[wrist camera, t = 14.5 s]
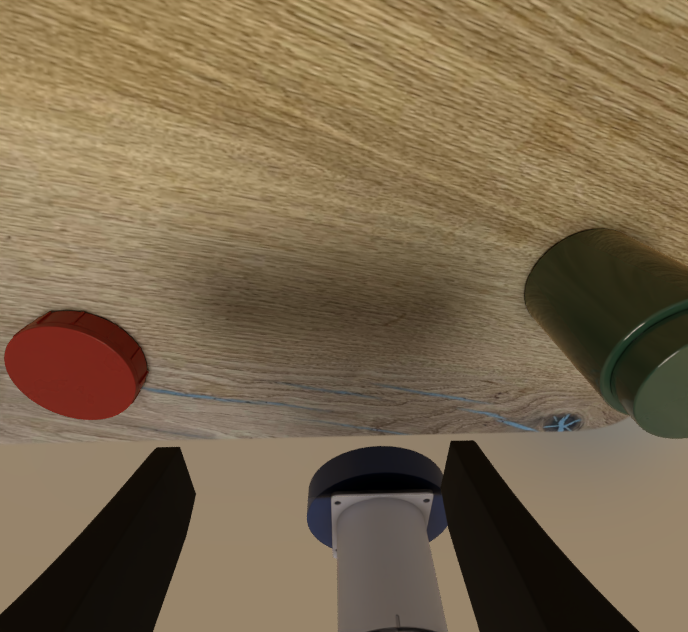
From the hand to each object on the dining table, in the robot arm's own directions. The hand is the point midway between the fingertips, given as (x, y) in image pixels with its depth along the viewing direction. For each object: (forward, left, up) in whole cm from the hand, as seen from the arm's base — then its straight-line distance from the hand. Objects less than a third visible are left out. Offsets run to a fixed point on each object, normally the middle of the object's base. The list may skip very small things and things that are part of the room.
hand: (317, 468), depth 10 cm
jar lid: (-3, +12, -8) cm, 15 cm away
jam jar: (+1, -12, -9) cm, 15 cm away
